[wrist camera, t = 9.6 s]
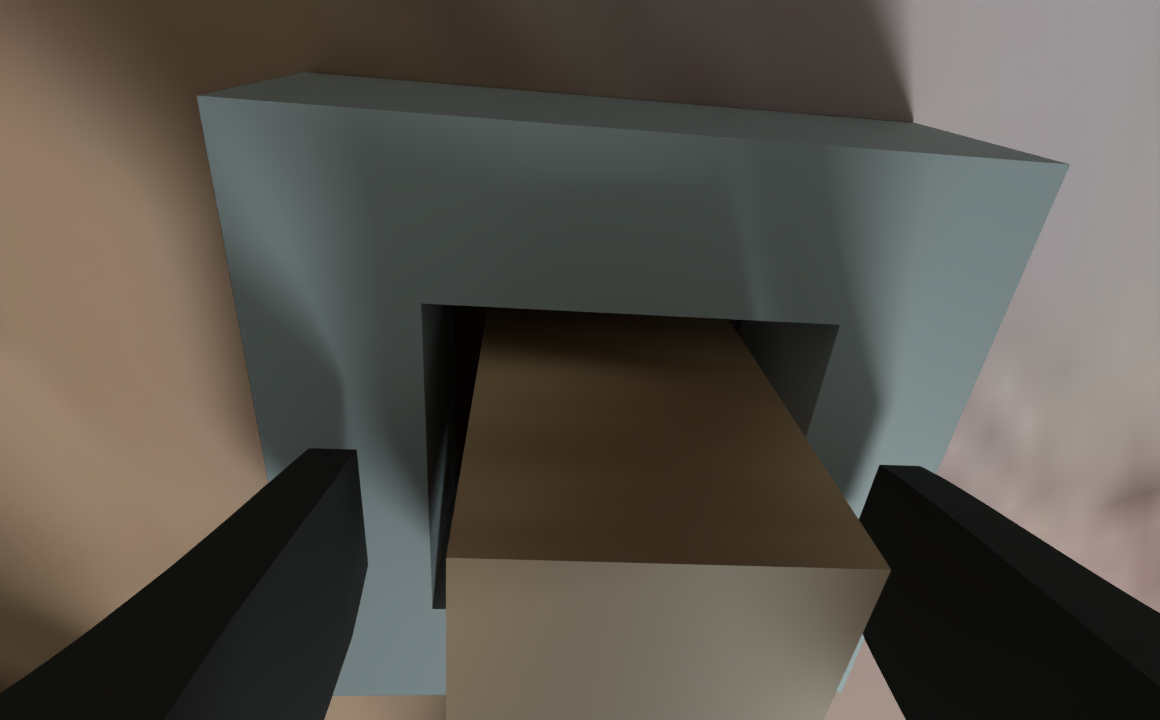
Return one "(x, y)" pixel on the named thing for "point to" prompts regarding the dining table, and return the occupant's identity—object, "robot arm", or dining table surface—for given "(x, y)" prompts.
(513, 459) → the square peg
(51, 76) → the dining table surface
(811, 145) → the socket block
